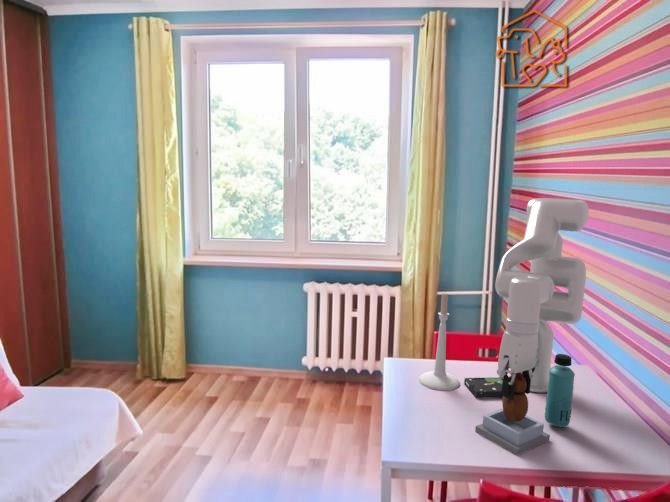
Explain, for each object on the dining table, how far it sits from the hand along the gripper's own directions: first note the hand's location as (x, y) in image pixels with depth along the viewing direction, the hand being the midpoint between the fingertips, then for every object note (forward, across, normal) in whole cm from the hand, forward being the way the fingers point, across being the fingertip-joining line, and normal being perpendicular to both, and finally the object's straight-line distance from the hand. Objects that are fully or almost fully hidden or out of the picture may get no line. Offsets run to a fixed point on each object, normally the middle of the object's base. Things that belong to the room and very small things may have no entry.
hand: (515, 394), depth 129 cm
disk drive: (+12, -18, -21) cm, 30 cm away
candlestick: (+12, -8, -34) cm, 37 cm away
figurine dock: (+12, 0, 0) cm, 12 cm away
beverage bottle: (+12, -15, +3) cm, 19 cm away
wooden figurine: (+7, 0, 0) cm, 7 cm away
